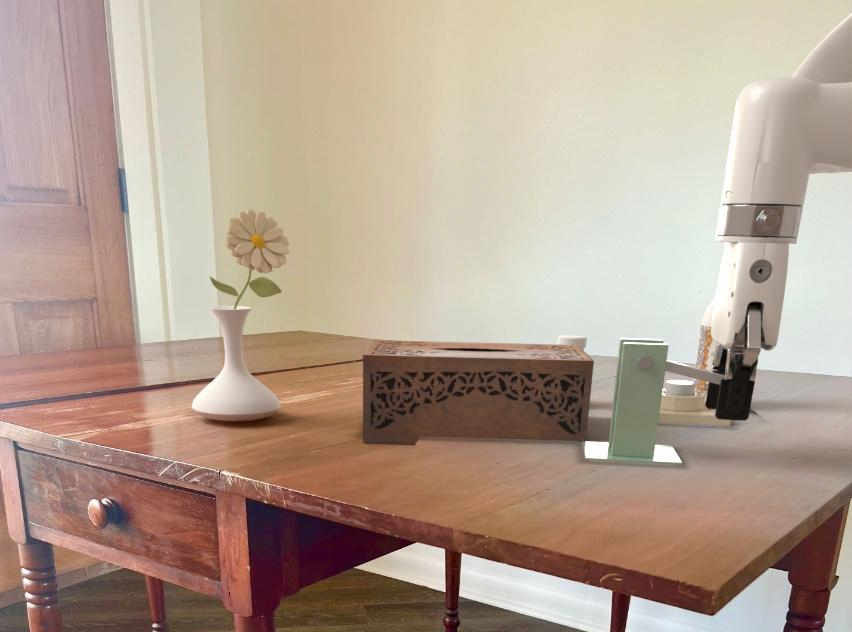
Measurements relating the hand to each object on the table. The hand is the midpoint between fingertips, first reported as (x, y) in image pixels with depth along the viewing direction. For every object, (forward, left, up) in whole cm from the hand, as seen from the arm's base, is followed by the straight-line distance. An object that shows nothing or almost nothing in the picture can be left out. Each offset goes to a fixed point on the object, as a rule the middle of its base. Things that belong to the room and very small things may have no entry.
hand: (725, 412), depth 91 cm
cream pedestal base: (+1, -23, -6) cm, 24 cm away
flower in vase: (+57, -13, -6) cm, 59 cm away
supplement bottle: (+15, -32, -6) cm, 36 cm away
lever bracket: (+9, 0, -6) cm, 11 cm away
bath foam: (-6, -34, -6) cm, 35 cm away
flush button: (+1, -23, -2) cm, 23 cm away
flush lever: (+5, 0, +3) cm, 6 cm away
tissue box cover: (+27, -11, -6) cm, 30 cm away
